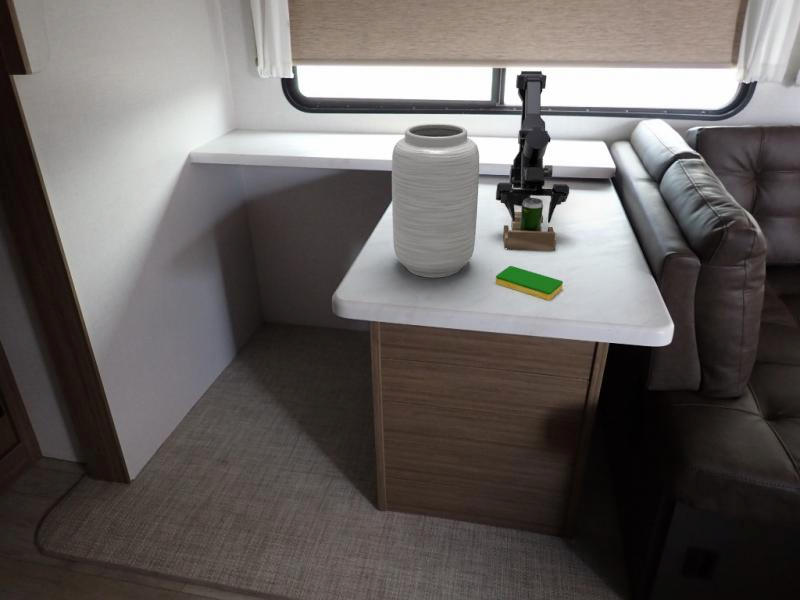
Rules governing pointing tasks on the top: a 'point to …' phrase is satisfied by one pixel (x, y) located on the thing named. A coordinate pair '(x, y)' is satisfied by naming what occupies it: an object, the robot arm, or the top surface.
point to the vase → (434, 199)
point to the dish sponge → (529, 282)
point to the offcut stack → (516, 223)
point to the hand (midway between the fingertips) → (531, 221)
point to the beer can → (531, 214)
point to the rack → (529, 239)
